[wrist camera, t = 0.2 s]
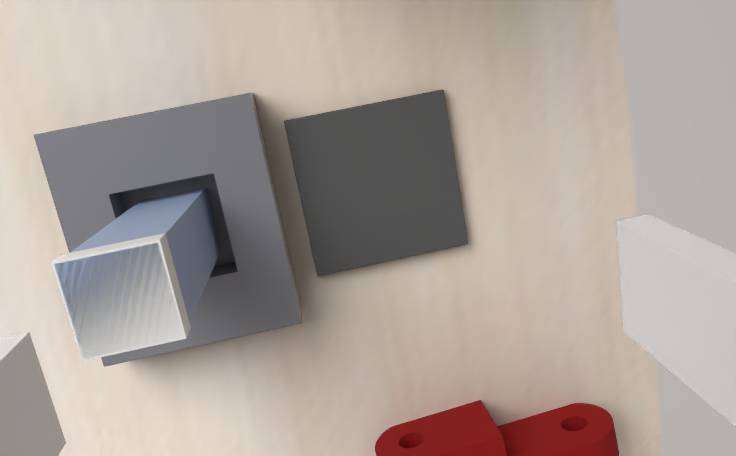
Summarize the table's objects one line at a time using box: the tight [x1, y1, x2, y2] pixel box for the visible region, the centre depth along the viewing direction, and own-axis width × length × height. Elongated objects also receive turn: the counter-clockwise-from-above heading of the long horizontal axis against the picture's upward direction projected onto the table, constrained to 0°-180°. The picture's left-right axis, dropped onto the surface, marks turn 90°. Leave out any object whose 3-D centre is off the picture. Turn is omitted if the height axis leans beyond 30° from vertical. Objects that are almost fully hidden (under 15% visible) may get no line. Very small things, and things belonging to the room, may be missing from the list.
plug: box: [51, 187, 222, 361], centre depth 33 cm, size 4×4×15 cm
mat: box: [284, 90, 468, 276], centre depth 41 cm, size 10×10×1 cm
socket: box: [34, 93, 302, 367], centre depth 39 cm, size 14×12×3 cm
